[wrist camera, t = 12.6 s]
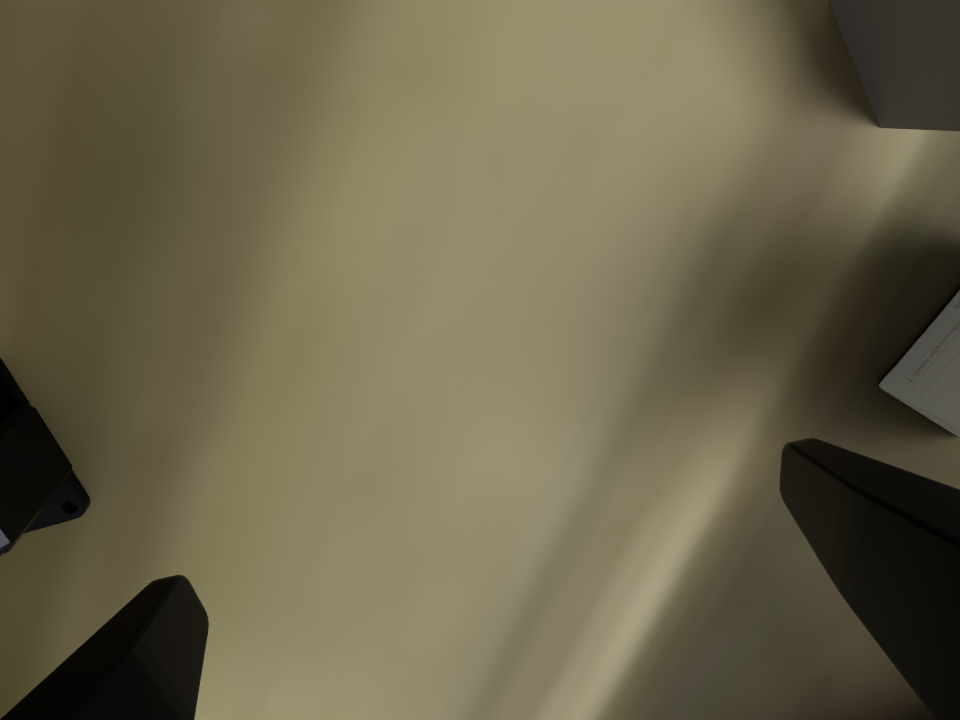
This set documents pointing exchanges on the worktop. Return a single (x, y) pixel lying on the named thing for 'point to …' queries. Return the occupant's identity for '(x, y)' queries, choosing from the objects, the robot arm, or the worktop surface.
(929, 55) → the light gray block
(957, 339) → the supplement box
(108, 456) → the worktop surface
